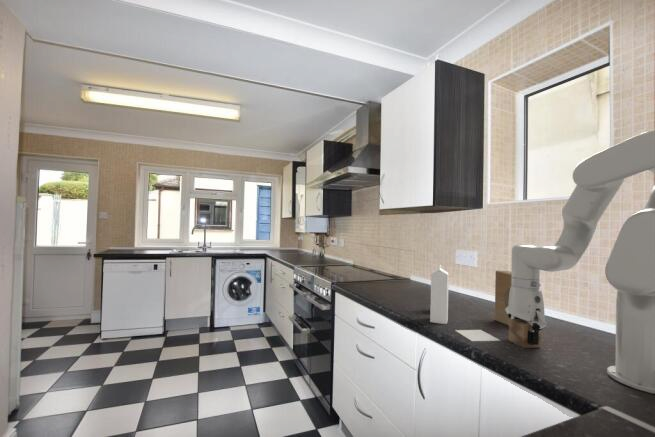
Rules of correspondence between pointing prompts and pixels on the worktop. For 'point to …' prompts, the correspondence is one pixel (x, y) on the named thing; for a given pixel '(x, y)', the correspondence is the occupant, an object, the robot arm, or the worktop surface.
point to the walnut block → (521, 333)
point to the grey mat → (477, 335)
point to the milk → (439, 296)
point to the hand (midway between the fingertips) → (524, 339)
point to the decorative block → (502, 295)
